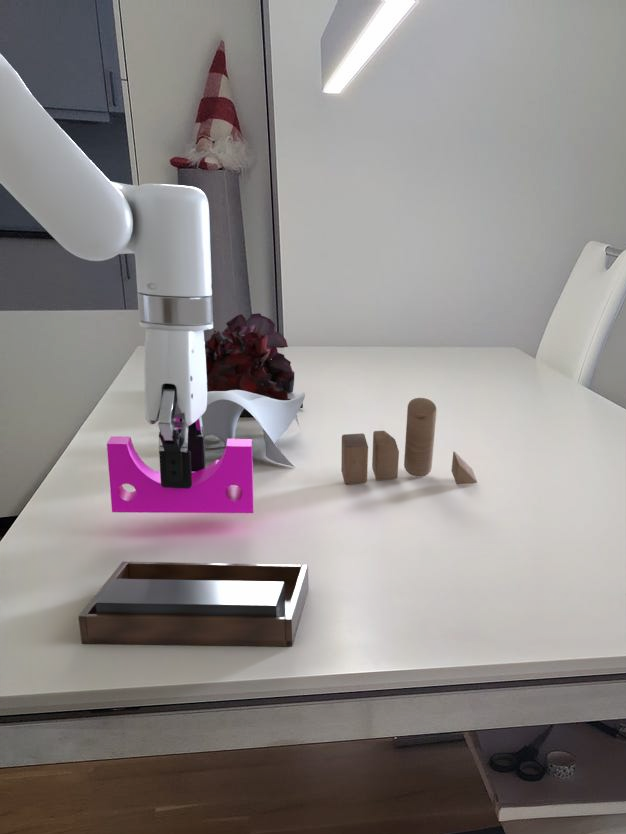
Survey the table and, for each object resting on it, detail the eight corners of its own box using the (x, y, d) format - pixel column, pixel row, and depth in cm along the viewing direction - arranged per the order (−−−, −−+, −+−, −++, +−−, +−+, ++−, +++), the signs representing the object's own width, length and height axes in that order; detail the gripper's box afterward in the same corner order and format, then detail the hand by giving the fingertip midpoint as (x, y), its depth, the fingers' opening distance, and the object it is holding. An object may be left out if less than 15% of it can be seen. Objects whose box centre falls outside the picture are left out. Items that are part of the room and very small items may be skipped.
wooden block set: (346, 503, 138) (347, 439, 131) (336, 463, 144) (337, 401, 137) (476, 493, 143) (483, 431, 135) (461, 455, 148) (468, 394, 141)
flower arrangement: (306, 418, 178) (303, 328, 172) (187, 418, 174) (180, 326, 168) (295, 387, 206) (292, 308, 200) (192, 387, 202) (187, 306, 196)
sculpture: (188, 429, 166) (184, 367, 163) (307, 430, 169) (305, 369, 165) (165, 466, 144) (159, 395, 140) (303, 467, 146) (301, 397, 142)
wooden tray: (81, 643, 87) (76, 605, 86) (125, 585, 100) (121, 551, 99) (292, 646, 88) (291, 608, 87) (308, 588, 101) (307, 555, 100)
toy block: (253, 498, 121) (251, 434, 118) (253, 513, 115) (251, 446, 112) (118, 497, 118) (113, 431, 115) (112, 512, 112) (106, 443, 109)
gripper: (158, 303, 116) (167, 459, 123) (117, 318, 100) (129, 497, 107) (226, 307, 117) (231, 462, 124) (195, 323, 101) (203, 501, 108)
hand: (183, 477), depth 115 cm, fingers closed on toy block, 6 cm apart
